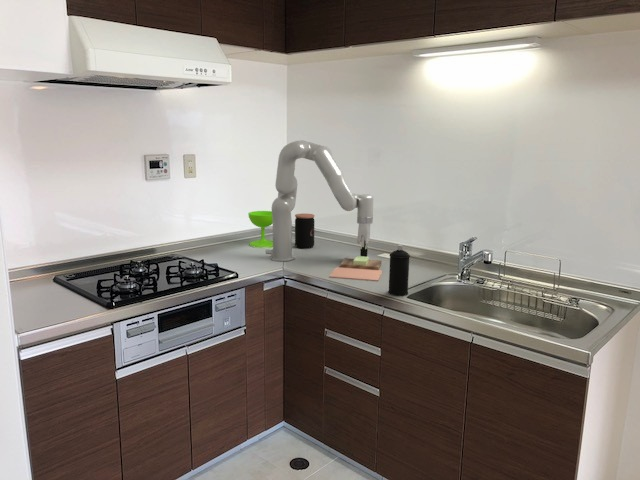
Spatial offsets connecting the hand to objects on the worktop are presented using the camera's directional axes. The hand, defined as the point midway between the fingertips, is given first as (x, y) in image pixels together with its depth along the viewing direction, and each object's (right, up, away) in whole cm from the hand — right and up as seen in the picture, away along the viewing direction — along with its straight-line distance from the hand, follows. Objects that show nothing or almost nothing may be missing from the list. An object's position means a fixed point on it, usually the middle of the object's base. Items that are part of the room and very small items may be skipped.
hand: (363, 256), depth 257 cm
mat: (-5, -7, -20) cm, 22 cm away
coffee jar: (-30, +4, +32) cm, 44 cm away
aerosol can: (+10, -14, -45) cm, 48 cm away
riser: (-2, -5, -7) cm, 8 cm away
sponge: (-2, -2, -8) cm, 8 cm away
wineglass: (-54, +5, +37) cm, 65 cm away
